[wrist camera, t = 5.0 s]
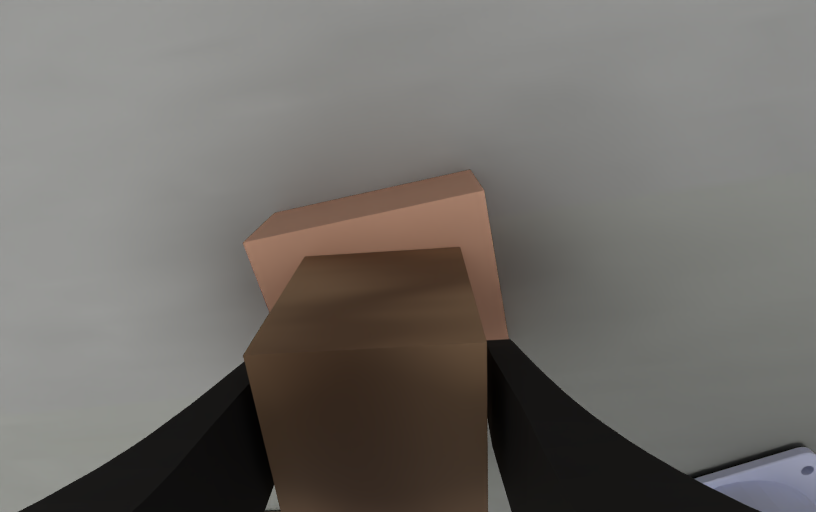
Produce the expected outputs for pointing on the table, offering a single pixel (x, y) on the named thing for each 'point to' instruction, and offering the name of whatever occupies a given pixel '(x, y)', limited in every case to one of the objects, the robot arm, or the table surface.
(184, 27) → the table surface
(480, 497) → the walnut block
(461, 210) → the base block
